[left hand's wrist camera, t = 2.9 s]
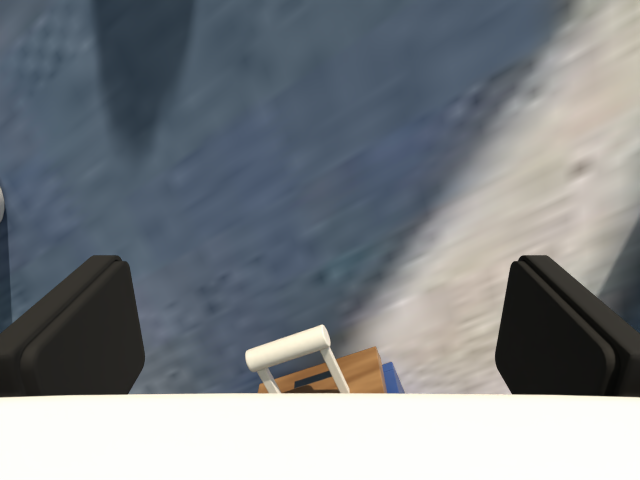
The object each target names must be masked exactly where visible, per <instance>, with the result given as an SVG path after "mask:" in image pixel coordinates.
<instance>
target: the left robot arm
mask: <svg viewBox="0 0 640 480" xmlns="http://www.w3.org/2000/svg"><path fill="white" fill-rule="evenodd" d="M144 362H145V352H144V346H143V341H142V335H141V329H140V323H139V318H138V312H137V306H136V301H135V295H134V289H133V283H132V278H131V272H130V267H129V264H128V263H127V262H126V261H122V260H121V258H120V257H119V256H116V255H94V256H92V257H90V258H89V259H88V260H87V261H85V262H84V263H83V264H82V265H81V266H80V267H78V268H77V269H76V270H75V271H74V272H72V273H71V274H70V275H69V276H68V277H67V278H65V279H64V280H63V281H62V282H61V283H60V284H58V285H57V286H56V287H55V288H54V289H52V290H51V291H50V292H49V293H48V294H47V295H45V296H44V297H43V298H42V299H41V300H40V301H38V302H37V303H36V304H35V305H34V306H32V307H31V308H30V309H29V310H28V311H27V312H25V313H24V314H23V315H22V316H21V317H20V318H18V319H17V320H16V321H15V322H14V323H12V324H11V325H10V326H9V327H8V328H7V329H5V330H4V331H3V332H2V333H1V334H0V480H640V334H639V333H638V332H637V331H636V330H635V329H633V328H632V327H631V326H630V325H629V324H628V323H626V322H625V321H624V320H623V319H622V318H620V317H619V316H618V315H617V314H616V313H615V312H613V311H612V310H611V309H610V308H609V307H608V306H606V305H605V304H604V303H603V302H602V301H600V300H599V299H598V298H597V297H596V296H595V295H593V294H592V293H591V292H590V291H589V290H588V289H586V288H585V287H584V286H583V285H582V284H580V283H579V282H578V281H577V280H576V279H575V278H573V277H572V276H571V275H570V274H569V273H568V272H566V271H565V270H564V269H563V268H562V267H560V266H559V265H558V264H557V263H556V262H555V261H553V260H552V259H551V258H550V257H548V256H546V255H524V256H521V257H520V258H519V260H518V261H514V262H513V263H512V264H511V267H510V272H509V278H508V283H507V289H506V295H505V301H504V306H503V312H502V318H501V323H500V329H499V335H498V341H497V346H496V352H495V362H496V366H497V369H498V371H499V372H500V374H501V376H502V378H503V379H504V381H505V383H506V384H507V386H508V388H509V390H510V391H511V393H512V395H499V394H383V393H255V394H143V395H128V393H129V391H130V390H131V388H132V386H133V384H134V383H135V381H136V379H137V378H138V376H139V374H140V372H141V371H142V369H143V366H144Z"/></svg>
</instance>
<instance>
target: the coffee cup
mask: <svg viewBox="0 0 640 480" xmlns="http://www.w3.org/2000/svg"><path fill="white" fill-rule="evenodd" d="M3 214H4V198H3V194H2V190H1V188H0V223H1V220H2V218H3Z"/></svg>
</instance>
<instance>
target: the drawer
mask: <svg viewBox="0 0 640 480" xmlns="http://www.w3.org/2000/svg"><path fill="white" fill-rule="evenodd" d="M319 350H320V352H321V354H322V356H323V358H324V360H325V362H326V363H323V364H320V365H317V366H314V367H311V368H308V369H305V370H302V371H298V372H295V373H292V374H289V375H286V376H283V377H280V378H277V379H274V378H273V376H272V375H271V373H270V371H269V369H268V367H271V366H274V365H277V364H280V363H283V362H286V361H289V360H292V359H295V358H298V357H301V356H304V355H307V354H310V353H313V352H316V351H319ZM245 358H246V363H247V366H248V368H249V369H250V371H252V372H256V371H257V372H258V374H259V376H260V378H261V380H262V382H263V383H262V384H260V385H259V390H258V393H383V394H387V389H386V384H385V379H384V373H383V368H382V363H381V358H380V355H379V353H378V351H377V348H376V347H372V348H369V349H366V350H363V351H360V352H357V353H354V354H351V355H347V356H344V357H341V358H338V359H335V357H334V355H333V353H332V351H331V349H330V338H329V335H328V332H327V330H326V328H325V326H324V325H320V326H317V327H314V328H311V329H308V330H305V331H302V332H299V333H296V334H293V335H290V336H287V337H284V338H282V339H279V340H276V341H273V342H270V343H267V344H264V345H261V346H258V347H255V348H252V349H249V350H247V351H246V354H245Z"/></svg>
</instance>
